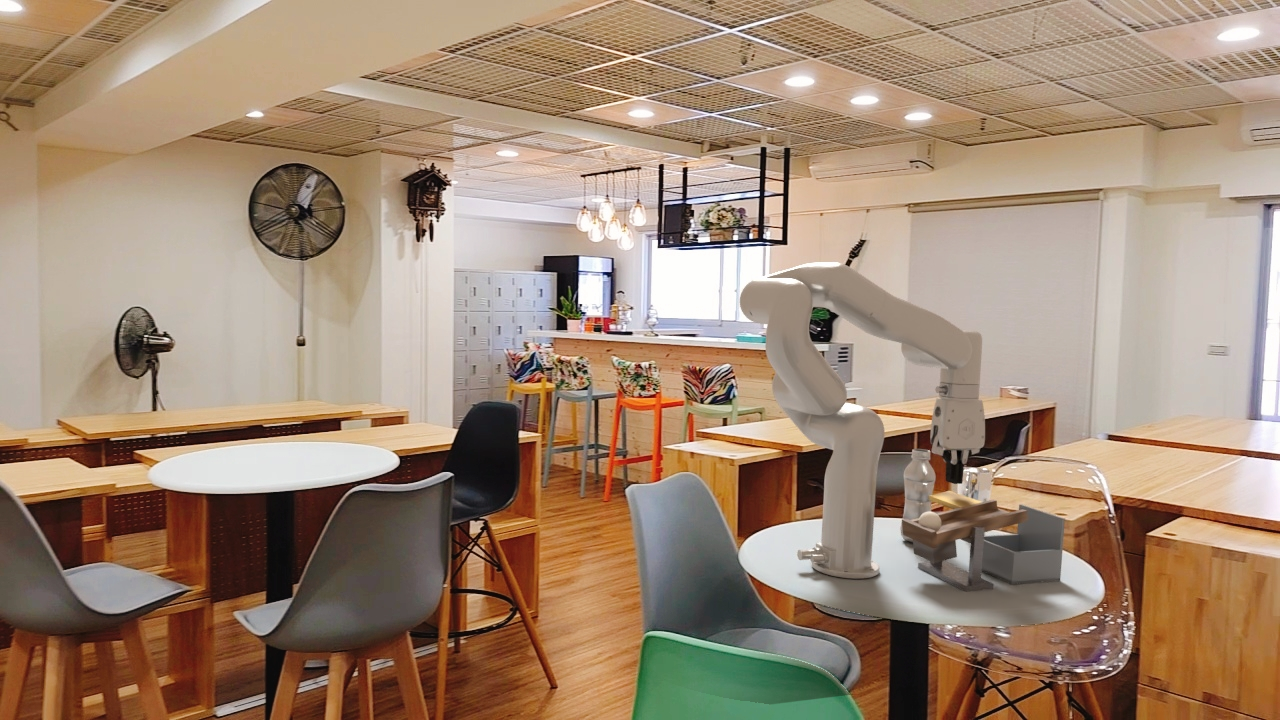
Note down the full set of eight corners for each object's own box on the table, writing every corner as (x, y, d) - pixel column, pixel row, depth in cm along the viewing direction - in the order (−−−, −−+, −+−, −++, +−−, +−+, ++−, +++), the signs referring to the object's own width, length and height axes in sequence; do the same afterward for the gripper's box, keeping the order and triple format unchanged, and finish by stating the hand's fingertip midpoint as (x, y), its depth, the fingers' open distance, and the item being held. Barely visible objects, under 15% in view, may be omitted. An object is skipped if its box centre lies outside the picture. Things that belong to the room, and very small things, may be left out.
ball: (928, 538, 160) (926, 517, 159) (915, 532, 164) (913, 511, 163) (947, 533, 161) (945, 512, 160) (933, 527, 165) (931, 507, 164)
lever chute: (934, 567, 158) (931, 532, 157) (874, 538, 176) (871, 506, 175) (1028, 541, 164) (1026, 507, 163) (961, 516, 182) (959, 485, 181)
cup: (1011, 584, 162) (1016, 521, 161) (971, 566, 173) (975, 506, 172) (1060, 580, 166) (1064, 518, 165) (1017, 563, 176) (1021, 504, 175)
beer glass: (952, 536, 194) (956, 470, 193) (956, 530, 201) (961, 465, 200) (985, 542, 191) (990, 474, 190) (989, 535, 197) (993, 469, 196)
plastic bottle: (928, 548, 185) (934, 454, 183) (896, 542, 188) (901, 450, 186) (934, 541, 190) (940, 450, 189) (903, 536, 193) (908, 446, 192)
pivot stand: (965, 591, 157) (970, 530, 156) (917, 567, 170) (921, 511, 170) (993, 589, 159) (997, 528, 158) (943, 565, 172) (947, 509, 171)
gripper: (939, 394, 169) (934, 488, 170) (1002, 393, 174) (997, 485, 175) (915, 390, 176) (910, 480, 178) (977, 389, 181) (972, 477, 182)
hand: (953, 482), depth 176 cm, fingers closed
